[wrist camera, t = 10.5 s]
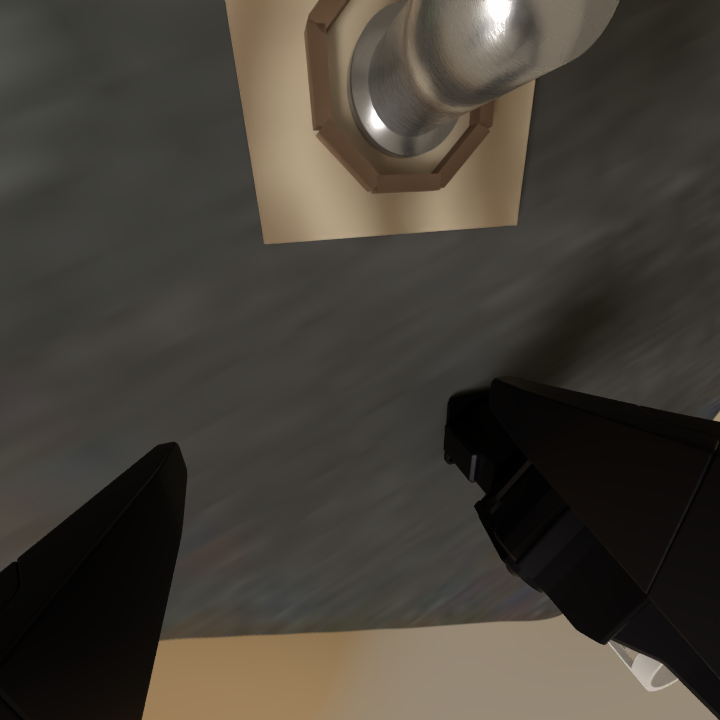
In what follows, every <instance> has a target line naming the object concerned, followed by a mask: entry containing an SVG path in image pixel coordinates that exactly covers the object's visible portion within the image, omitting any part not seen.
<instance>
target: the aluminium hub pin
mask: <svg viewBox="0 0 720 720" xmlns="http://www.w3.org/2000/svg"><path fill="white" fill-rule="evenodd" d="M619 1H620V0H403V1H398V2H394V3H392V4H389V5H387V6H386V7H384V8H382V9H381V10H380V11H378V12H377V13H376V14H375V15H374V16H373V17H372V18H371V20H370V21H369V22H368V23H367V25H366V26H365V28H364V30H363V31H362V33H361V35H360V37H359V38H358V40H357V42H356V44H355V46H354V48H353V51H352V54H351V57H350V60H349V65H348V70H347V97H348V103H349V108H350V111H351V114H352V117H353V120H354V122H355V124H356V126H357V128H358V130H359V131H360V133H361V134H362V136H363V137H364V138H365V140H366V141H367V142H368V143H369V144H370V145H371V146H372V147H373V148H375V149H376V150H377V151H379V152H381V153H382V154H384V155H387V156H390V157H393V158H401V159H405V158H412V157H416V156H419V155H421V154H424V153H426V152H428V151H430V150H432V149H434V148H435V147H437V146H438V145H439V144H441V143H442V142H443V141H444V140H445V139H446V138H447V137H448V135H449V134H450V133H451V131H452V130H453V128H454V126H455V125H456V123H457V121H458V118H459V117H460V116H462V115H464V114H466V113H468V112H470V111H472V110H474V109H476V108H478V107H480V106H482V105H484V104H486V103H488V102H490V101H492V100H494V99H496V98H498V97H500V96H502V95H504V94H506V93H508V92H510V91H512V90H514V89H516V88H518V87H520V86H522V85H524V84H526V83H528V82H530V81H532V80H534V79H536V78H538V77H540V76H542V75H544V74H546V73H548V72H550V71H552V70H554V69H556V68H558V67H560V66H562V65H564V64H566V63H568V62H570V61H572V60H574V59H576V58H577V57H579V56H580V55H582V54H583V53H584V52H585V51H586V50H587V49H589V48H590V47H591V46H592V44H593V43H594V42H595V41H596V40H597V39H598V38H599V36H600V35H601V34H602V32H603V31H604V30H605V28H606V26H607V25H608V23H609V21H610V20H611V18H612V16H613V14H614V12H615V10H616V8H617V6H618V3H619Z"/></svg>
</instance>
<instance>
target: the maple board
mask: <svg viewBox="0 0 720 720" xmlns="http://www.w3.org/2000/svg"><path fill="white" fill-rule="evenodd" d="M398 1H403V0H225V3H226V9H227V15H228V21H229V28H230V34H231V40H232V46H233V52H234V59H235V65H236V71H237V77H238V83H239V90H240V96H241V102H242V108H243V114H244V121H245V127H246V133H247V139H248V145H249V152H250V158H251V164H252V170H253V176H254V183H255V189H256V195H257V201H258V207H259V214H260V220H261V226H262V232H263V238H264V244H275V243H288V242H301V241H314V240H327V239H340V238H353V237H366V236H379V235H392V234H406V233H419V232H432V231H445V230H458V229H471V228H484V227H497V226H510V225H517V219H518V211H519V203H520V196H521V188H522V180H523V173H524V165H525V157H526V149H527V142H528V134H529V126H530V118H531V111H532V103H533V95H534V87H535V80H536V79H534V80H532V81H530V82H528V83H526V84H524V85H522V86H520V87H518V88H516V89H514V90H512V91H510V92H508V93H506V94H504V95H502V96H500V97H498V98H496V99H494V100H492V101H490V102H488V103H486V104H484V105H482V106H480V107H478V108H476V109H474V110H472V111H470V112H468V113H466V114H464V115H462V116H460V117H459V118H458V121H457V123H456V125H455V126H454V128H453V130H452V131H451V133H450V134H449V135H448V137H447V138H446V139H445V140H444V141H443V142H442V143H441V144H439V145H438V146H437V147H435V148H434V149H432V150H430V151H428V152H426V153H424V154H421V155H419V156H416V157H412V158H405V159H401V158H393V157H390V156H387V155H384V154H382V153H381V152H379V151H377V150H376V149H375V148H373V147H372V146H371V145H370V144H369V143H368V142H367V141H366V140H365V138H364V137H363V136H362V134H361V133H360V131H359V130H358V128H357V126H356V124H355V122H354V120H353V117H352V114H351V111H350V108H349V103H348V97H347V70H348V65H349V60H350V57H351V54H352V51H353V48H354V46H355V44H356V42H357V40H358V38H359V37H360V35H361V33H362V31H363V30H364V28H365V26H366V25H367V23H368V22H369V21H370V20H371V18H372V17H373V16H374V15H375V14H376V13H377V12H378V11H380V10H381V9H382V8H384V7H386V6H387V5H389V4H392V3H394V2H398Z"/></svg>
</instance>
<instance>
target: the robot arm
mask: <svg viewBox="0 0 720 720" xmlns="http://www.w3.org/2000/svg"><path fill="white" fill-rule="evenodd" d="M454 403H456V404H455V405H454ZM453 405H454V406H453ZM444 450H445V454H444V460H445V461H446V462H447V464H454V463H455V464H456V465H457V466H458V468H459V469H460V470H461V471H462V473H463V474H464V475H465V476H466V478H467V479H468V480H469V481H470V482H472V483H473V482H476V483H477V484H478V485H479V486H480V487H481V489H482V490H483V491H484V492H485V493H486V495H485V496H484V497H483V498H482V499H481V500H480V501H478V502H477V503H476V504H475V505H474V507H475V509H476V511H477V513H478V515H479V518H480V520H481V522H482V524H483V526H484V528H485V530H486V532H487V533H488V535H489V537H490V539H491V541H492V543H493V545H494V547H495V548H496V550H497V552H498V554H499V556H500V558H501V560H502V561H503V562H504V563H505V564H506V567H507V569H508V571H509V572H510V573H511V574H512V575H513V576H517V577H520V578H521V579H522V580H523V581H525V582H526V583H527V584H528V585H529V586H531V587H532V588H534V589H535V590H537V591H539V592H541V593H546V594H547V595H548V597H549V598H550V599H551V600H552V601H553V602H554V604H555V605H556V606H557V607H558V608H559V610H560V611H561V612H562V613H563V614H564V616H565V617H566V618H567V619H568V620H569V622H570V623H571V624H572V625H573V626H574V628H575V629H576V630H578V631H579V632H581V633H583V634H584V635H586V636H588V637H589V638H591V639H593V640H594V641H596V642H598V643H600V644H603V645H606V644H607V643H608V642H609V641H610V640H612V641H614V642H617V643H619V644H621V645H623V646H625V647H627V648H630V649H632V650H634V651H636V652H638V653H641V654H643V655H645V656H647V657H649V658H652V659H654V660H656V661H658V662H660V663H662V664H663V665H664V666H665V667H666V668H667V669H668V670H669V671H671V672H672V673H673V674H674V675H675V676H676V677H677V678H678V679H679V680H680V681H681V682H682V683H683V684H684V685H685V686H686V687H687V688H688V689H689V690H690V691H691V692H692V693H693V694H694V695H695V696H696V697H697V698H698V699H699V700H700V701H701V702H702V703H703V704H704V705H705V706H706V707H707V708H708V709H709V710H710V711H711V712H712V713H713V714H714V715H715V716H716V717H717V718H718V719H719V720H720V422H718V421H713V420H708V419H703V418H698V417H692V416H687V415H682V414H677V413H673V412H668V411H663V410H658V409H654V408H649V407H645V406H638V405H635V404H631V403H626V402H622V401H617V400H613V399H608V398H604V397H599V396H594V395H590V394H585V393H581V392H576V391H572V390H567V389H563V388H558V387H554V386H549V385H544V384H540V383H535V382H531V381H526V380H522V379H517V378H513V377H508V376H503V377H498V378H495V379H493V381H492V383H491V390H489V391H484V392H479V393H474V394H469V395H465V396H460V397H455V398H452V399H450V400H449V402H448V407H447V422H446V425H445V436H444ZM450 458H451V459H450ZM186 485H187V468H186V465H185V462H184V459H183V456H182V453H181V450H180V447H179V445H178V444H177V443H176V442H169V443H164V444H159V445H157V446H156V447H154V448H153V449H152V450H151V451H150V452H148V453H147V454H146V455H145V456H143V457H142V458H141V459H140V460H138V461H137V462H136V463H135V464H133V465H132V466H131V467H130V468H129V469H127V470H126V471H125V472H124V473H122V474H121V475H120V476H119V477H117V478H116V479H115V480H114V481H112V482H111V483H110V484H109V485H108V486H106V487H105V488H104V489H103V490H101V491H100V492H99V493H98V494H96V495H95V496H94V497H93V498H91V499H90V500H89V501H88V502H87V503H85V504H84V505H83V506H82V507H80V508H79V509H78V510H77V511H75V512H74V513H73V514H72V515H70V516H69V517H68V518H67V519H65V520H64V521H63V522H62V523H61V524H59V525H58V526H57V527H56V528H54V529H53V530H52V531H51V532H49V533H48V534H47V535H46V536H44V537H43V538H42V539H41V540H40V541H38V542H37V543H36V544H35V545H33V546H32V547H31V548H30V549H28V550H27V551H26V552H25V553H23V554H22V555H21V556H20V557H19V558H18V559H17V562H12V563H11V564H10V565H8V566H7V567H6V568H5V569H4V570H2V571H1V572H0V720H142V716H143V711H144V707H145V702H146V697H147V693H148V688H149V684H150V679H151V674H152V669H153V665H154V660H155V656H156V651H157V647H158V642H159V638H160V633H161V629H162V624H163V619H164V615H165V610H166V606H167V601H168V596H169V592H170V587H171V583H172V578H173V573H174V569H175V564H176V560H177V555H178V550H179V546H180V541H181V535H182V528H183V518H184V507H185V496H186Z"/></svg>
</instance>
